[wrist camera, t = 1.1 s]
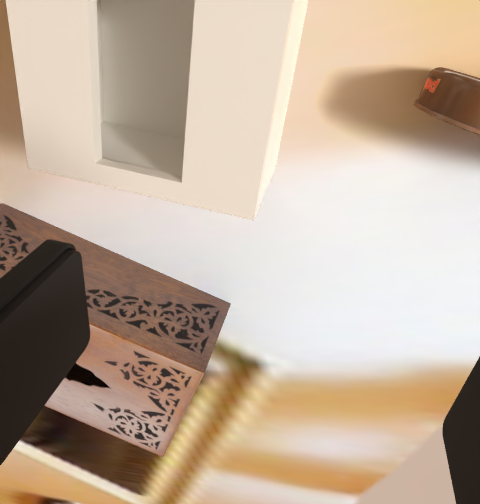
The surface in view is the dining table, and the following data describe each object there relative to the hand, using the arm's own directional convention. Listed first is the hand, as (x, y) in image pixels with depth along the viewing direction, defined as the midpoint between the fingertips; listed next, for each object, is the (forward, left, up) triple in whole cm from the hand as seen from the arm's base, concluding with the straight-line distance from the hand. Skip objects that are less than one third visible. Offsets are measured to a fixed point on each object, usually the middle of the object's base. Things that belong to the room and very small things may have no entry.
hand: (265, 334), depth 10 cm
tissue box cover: (+27, -19, -28) cm, 43 cm away
